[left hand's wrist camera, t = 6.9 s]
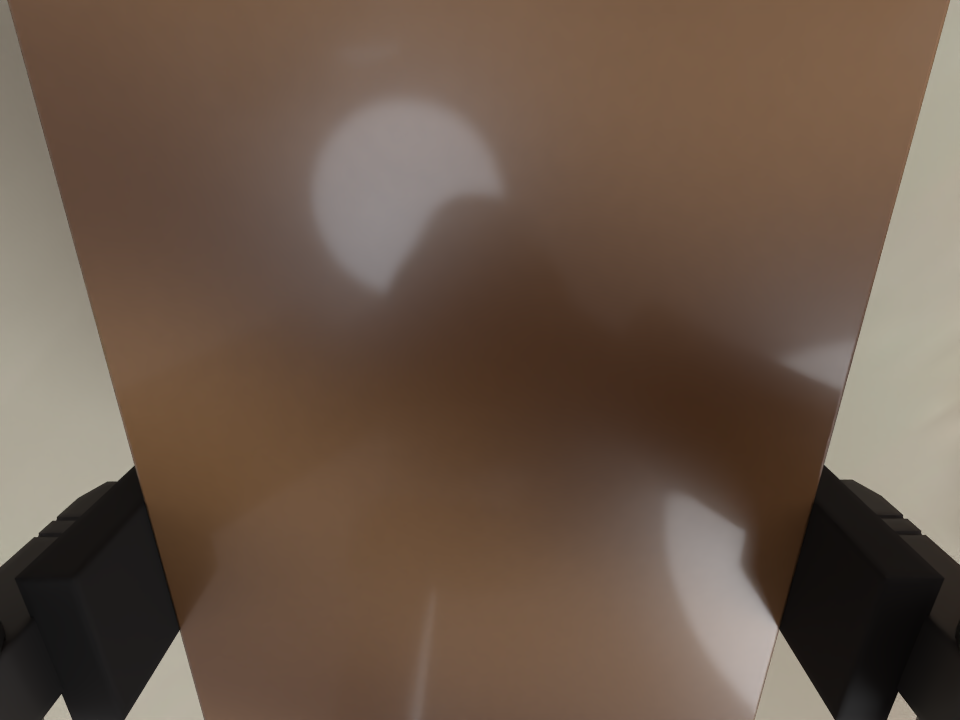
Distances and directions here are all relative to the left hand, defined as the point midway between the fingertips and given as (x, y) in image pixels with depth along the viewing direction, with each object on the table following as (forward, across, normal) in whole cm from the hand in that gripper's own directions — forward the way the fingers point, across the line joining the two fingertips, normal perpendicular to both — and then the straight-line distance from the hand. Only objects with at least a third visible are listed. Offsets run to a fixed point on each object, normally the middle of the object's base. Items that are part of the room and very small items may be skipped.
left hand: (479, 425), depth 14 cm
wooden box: (+3, 0, -5) cm, 6 cm away
